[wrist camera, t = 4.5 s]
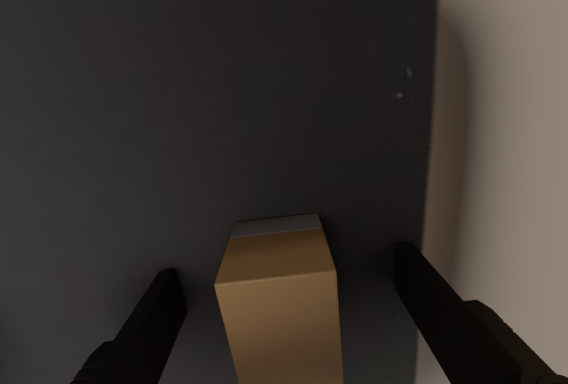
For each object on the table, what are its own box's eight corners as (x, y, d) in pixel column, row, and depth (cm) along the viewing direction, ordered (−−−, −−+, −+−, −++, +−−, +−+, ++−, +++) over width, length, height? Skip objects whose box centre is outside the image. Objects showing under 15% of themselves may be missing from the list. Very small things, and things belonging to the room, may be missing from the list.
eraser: (233, 222, 13) (213, 284, 9) (317, 212, 13) (337, 270, 9) (255, 326, 15) (246, 416, 11) (326, 318, 15) (345, 405, 11)
